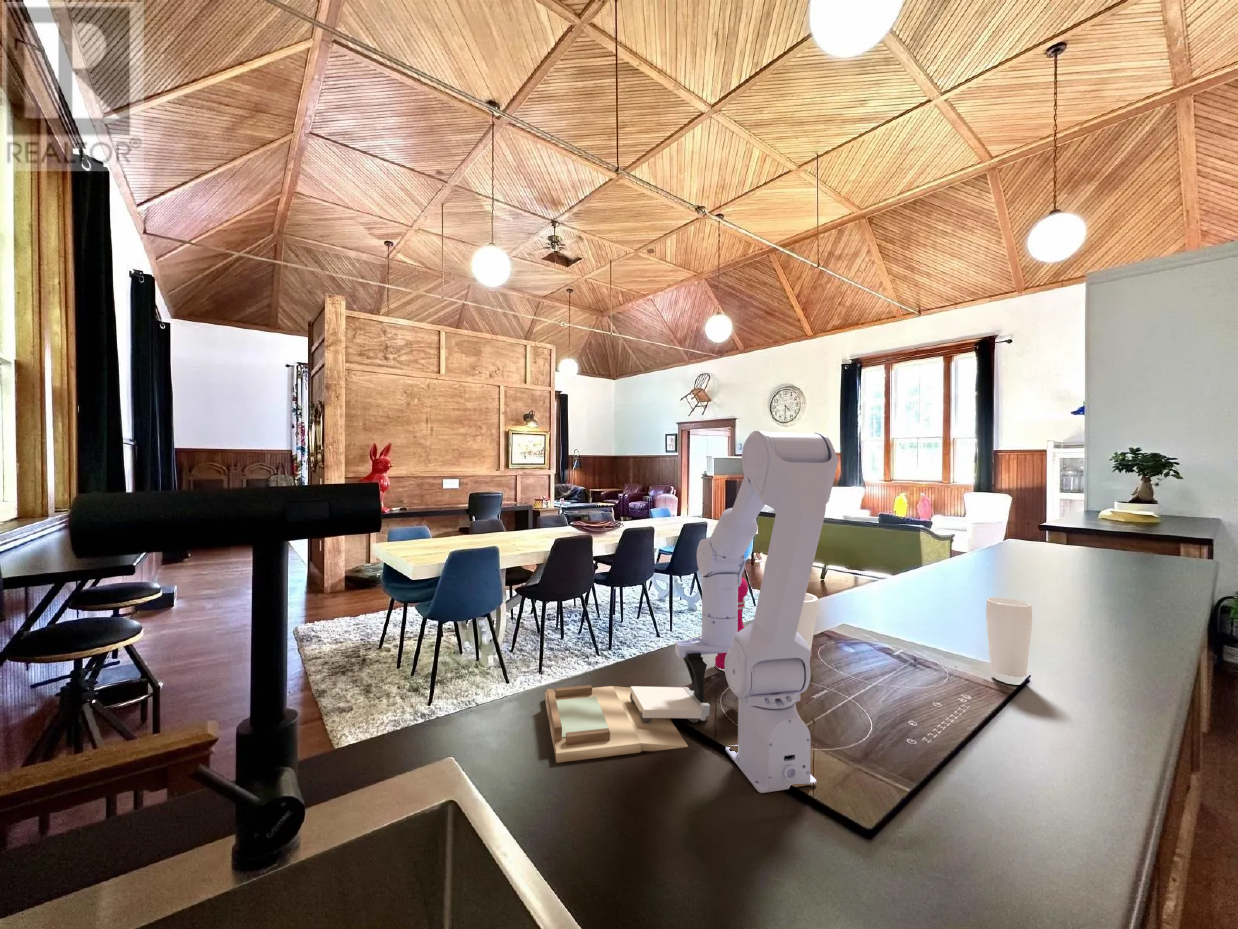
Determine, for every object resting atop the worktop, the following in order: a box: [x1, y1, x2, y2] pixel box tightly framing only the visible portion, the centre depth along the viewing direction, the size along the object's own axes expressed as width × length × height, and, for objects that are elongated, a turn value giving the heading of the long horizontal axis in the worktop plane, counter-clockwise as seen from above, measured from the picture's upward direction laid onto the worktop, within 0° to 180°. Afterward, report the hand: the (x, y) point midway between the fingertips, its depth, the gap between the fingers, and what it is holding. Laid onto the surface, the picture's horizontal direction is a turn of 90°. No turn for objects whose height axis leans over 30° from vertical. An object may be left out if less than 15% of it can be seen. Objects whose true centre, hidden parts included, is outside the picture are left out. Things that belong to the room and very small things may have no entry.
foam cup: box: [797, 592, 819, 651], centre depth 101 cm, size 10×9×13 cm
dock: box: [544, 684, 689, 764], centre depth 75 cm, size 18×18×4 cm
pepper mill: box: [714, 576, 749, 669], centre depth 96 cm, size 7×7×20 cm
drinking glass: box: [985, 596, 1033, 677], centre depth 92 cm, size 7×7×15 cm
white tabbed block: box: [629, 685, 711, 723], centre depth 77 cm, size 8×11×2 cm
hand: (718, 697), depth 79 cm, fingers open, 6 cm apart
